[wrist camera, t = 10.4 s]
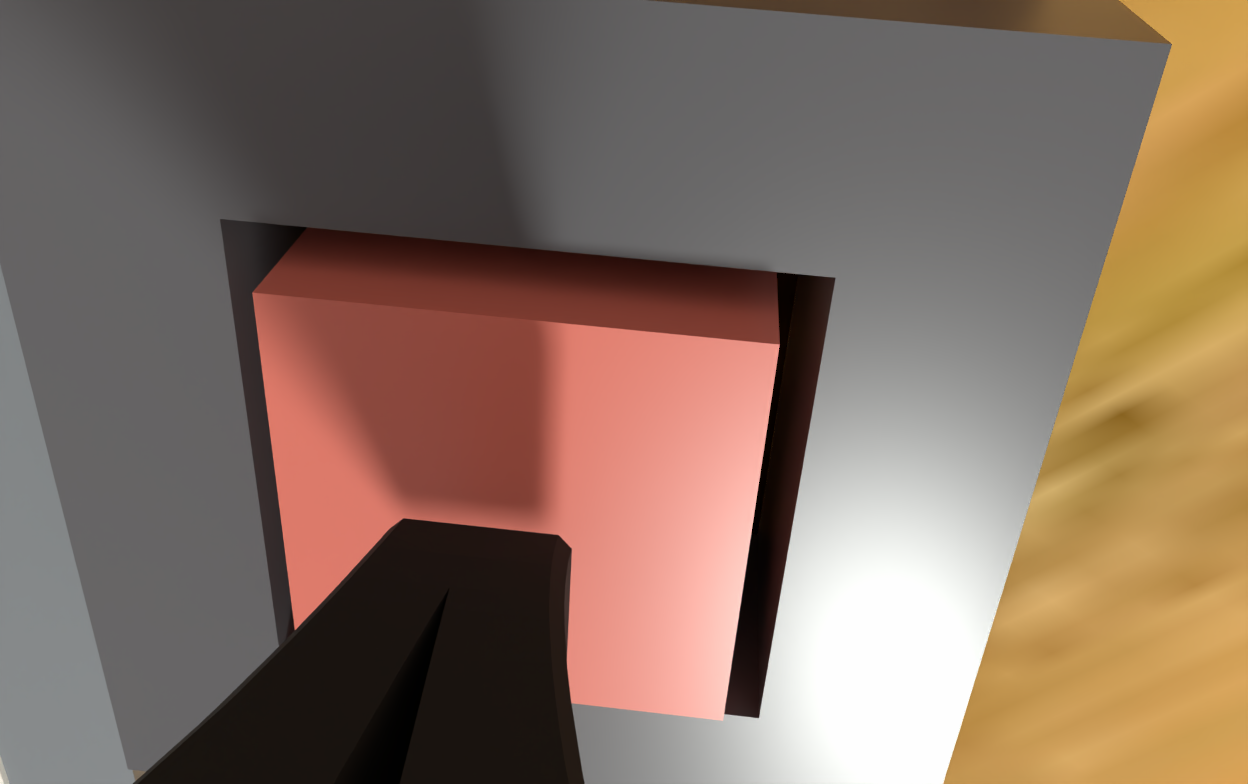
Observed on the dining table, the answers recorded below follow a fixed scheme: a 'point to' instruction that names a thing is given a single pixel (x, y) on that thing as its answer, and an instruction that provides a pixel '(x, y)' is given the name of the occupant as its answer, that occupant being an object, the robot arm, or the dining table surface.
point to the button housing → (589, 224)
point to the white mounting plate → (44, 611)
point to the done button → (531, 432)
